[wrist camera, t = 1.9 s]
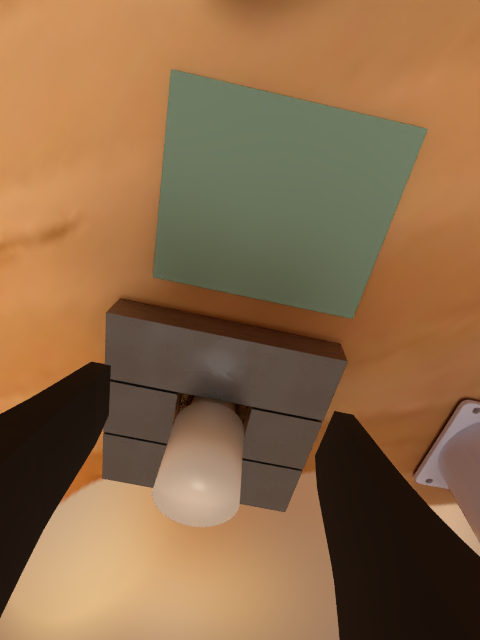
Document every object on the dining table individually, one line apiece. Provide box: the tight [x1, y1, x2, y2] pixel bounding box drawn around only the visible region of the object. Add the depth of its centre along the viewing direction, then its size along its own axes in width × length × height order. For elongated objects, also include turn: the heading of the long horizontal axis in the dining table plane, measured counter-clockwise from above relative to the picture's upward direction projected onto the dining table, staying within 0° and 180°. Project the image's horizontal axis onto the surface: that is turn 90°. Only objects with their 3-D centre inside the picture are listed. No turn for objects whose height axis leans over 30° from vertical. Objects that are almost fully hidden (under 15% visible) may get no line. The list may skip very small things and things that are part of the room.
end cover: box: [152, 396, 244, 527], centre depth 21 cm, size 5×5×7 cm
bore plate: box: [102, 299, 348, 512], centre depth 23 cm, size 14×14×2 cm
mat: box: [153, 69, 428, 319], centre depth 18 cm, size 12×10×1 cm
